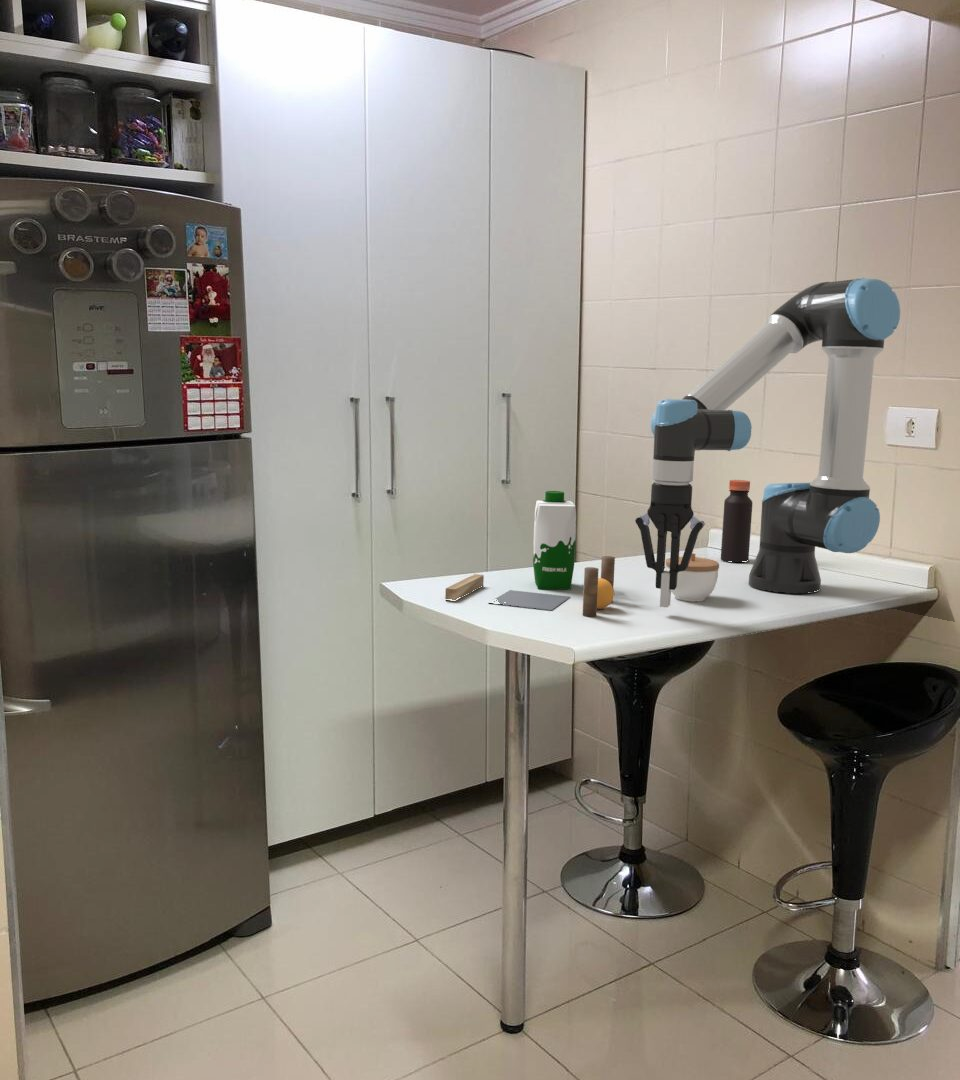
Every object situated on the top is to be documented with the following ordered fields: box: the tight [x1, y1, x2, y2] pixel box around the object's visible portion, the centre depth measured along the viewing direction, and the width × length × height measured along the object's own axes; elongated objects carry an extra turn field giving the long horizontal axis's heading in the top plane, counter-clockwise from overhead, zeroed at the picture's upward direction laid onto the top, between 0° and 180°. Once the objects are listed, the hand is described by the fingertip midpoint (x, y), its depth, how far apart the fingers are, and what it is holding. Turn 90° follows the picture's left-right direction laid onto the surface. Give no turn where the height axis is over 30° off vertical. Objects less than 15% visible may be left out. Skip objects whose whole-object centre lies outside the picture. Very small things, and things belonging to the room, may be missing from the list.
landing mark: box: [494, 589, 571, 611], centre depth 204 cm, size 13×13×1 cm
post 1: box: [582, 566, 600, 618], centre depth 192 cm, size 3×3×9 cm
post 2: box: [600, 555, 616, 603], centre depth 204 cm, size 3×3×9 cm
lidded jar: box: [665, 552, 720, 603], centre depth 209 cm, size 11×11×9 cm
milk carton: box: [532, 490, 577, 590], centre depth 216 cm, size 9×9×20 cm
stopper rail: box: [444, 573, 485, 600], centre depth 208 cm, size 2×16×2 cm, turn 159°
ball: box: [582, 577, 615, 610], centre depth 198 cm, size 6×6×6 cm
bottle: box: [720, 479, 753, 562], centre depth 251 cm, size 7×7×20 cm
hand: (665, 605), depth 194 cm, fingers closed
